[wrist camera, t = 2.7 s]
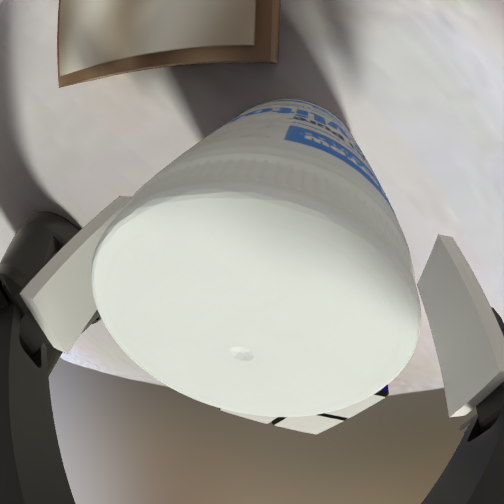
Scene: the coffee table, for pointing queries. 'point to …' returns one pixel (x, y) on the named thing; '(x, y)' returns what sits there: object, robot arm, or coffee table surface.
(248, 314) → the supplement tub
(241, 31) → the podium
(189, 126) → the coffee table surface
